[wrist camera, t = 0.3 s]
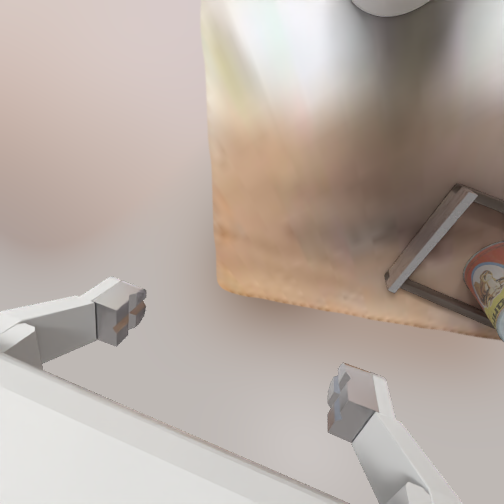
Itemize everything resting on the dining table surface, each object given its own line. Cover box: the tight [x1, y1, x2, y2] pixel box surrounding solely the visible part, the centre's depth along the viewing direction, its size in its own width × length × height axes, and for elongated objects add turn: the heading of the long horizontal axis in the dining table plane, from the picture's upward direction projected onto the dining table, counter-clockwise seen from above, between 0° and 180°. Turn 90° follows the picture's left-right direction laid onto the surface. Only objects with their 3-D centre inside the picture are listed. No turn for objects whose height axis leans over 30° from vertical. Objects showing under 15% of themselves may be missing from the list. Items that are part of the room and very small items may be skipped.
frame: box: [385, 183, 504, 329], centre depth 41 cm, size 18×24×4 cm
